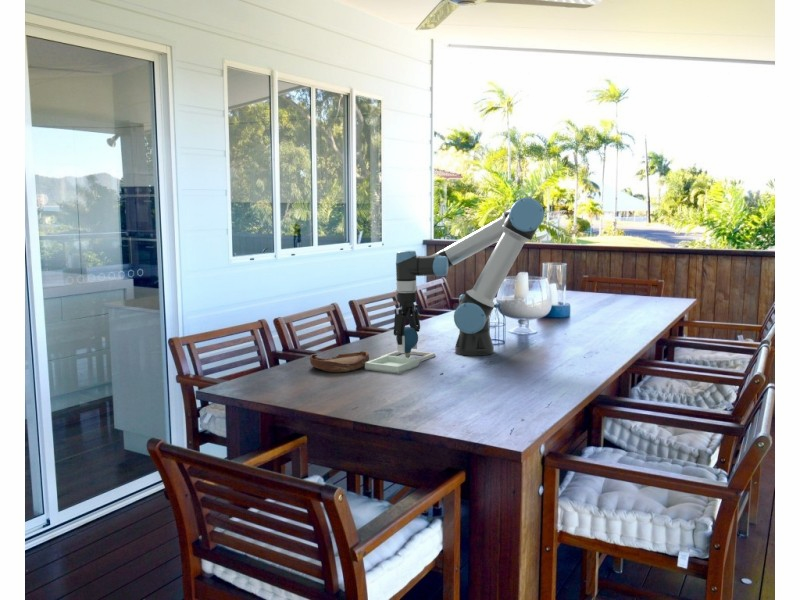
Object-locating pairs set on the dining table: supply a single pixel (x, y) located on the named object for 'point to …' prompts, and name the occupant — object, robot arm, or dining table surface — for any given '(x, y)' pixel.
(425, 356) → the pale square frame
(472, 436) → the dining table surface
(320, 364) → the basket
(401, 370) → the tray
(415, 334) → the light bulb
